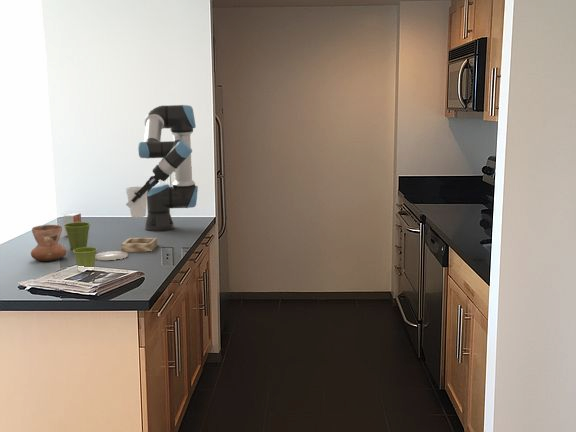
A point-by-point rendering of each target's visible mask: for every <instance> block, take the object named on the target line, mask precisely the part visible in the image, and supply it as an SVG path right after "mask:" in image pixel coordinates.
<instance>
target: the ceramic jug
mask: <svg viewBox="0 0 576 432" xmlns="http://www.w3.org/2000/svg"><path fill="white" fill-rule="evenodd" d="M62 230H63V227H62V226H61V225H58V224H44V225H36V226H33V227H32V228H31V232H32V235H33V237H34V240H35V241H36V244H37V245H36V246H35V247H34V248H32V250H31V252H30V255H31V256H30V257H31V258H32V259H33V260H36V261H37V262H38V261H39V262H53V261H56V260H59V259H62V258H64V256H66V254H67V248H66V247H64V246H63V245H62V244H59V241H60V239H61V235H62V232H63V231H62Z"/></svg>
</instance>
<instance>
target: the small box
mask: <svg viewBox="0 0 576 432" xmlns="http://www.w3.org/2000/svg"><path fill="white" fill-rule="evenodd" d="M62 217H63V230H64V236H65V237H68V235H67V231H66V228H65V226H64V225H65V224H68V223H75V222H82V214H81V213H78V212H76V213H74V212H73V213H72V212H71V213H68V214H66V215H65V214H64V215H63V216H62Z"/></svg>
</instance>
